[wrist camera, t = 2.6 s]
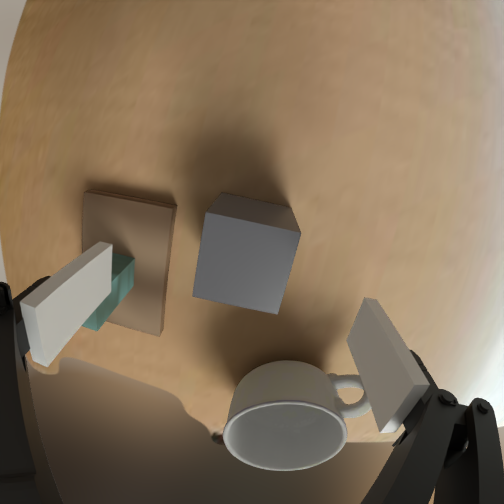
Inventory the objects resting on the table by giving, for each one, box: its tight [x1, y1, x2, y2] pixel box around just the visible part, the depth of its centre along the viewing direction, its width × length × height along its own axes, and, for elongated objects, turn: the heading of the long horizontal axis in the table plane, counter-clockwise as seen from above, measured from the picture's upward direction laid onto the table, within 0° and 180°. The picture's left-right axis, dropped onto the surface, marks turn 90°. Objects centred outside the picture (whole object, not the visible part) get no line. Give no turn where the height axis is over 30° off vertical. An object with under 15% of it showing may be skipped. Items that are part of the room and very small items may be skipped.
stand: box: [82, 189, 177, 337], centre depth 22 cm, size 12×8×8 cm, turn 168°
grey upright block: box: [192, 193, 301, 314], centre depth 21 cm, size 5×5×7 cm
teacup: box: [223, 360, 371, 471], centre depth 25 cm, size 14×11×8 cm
